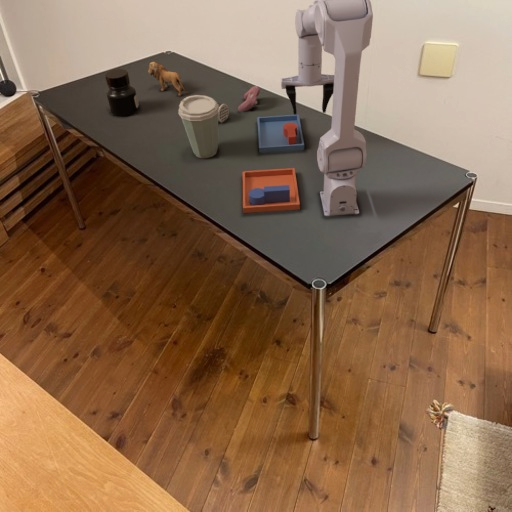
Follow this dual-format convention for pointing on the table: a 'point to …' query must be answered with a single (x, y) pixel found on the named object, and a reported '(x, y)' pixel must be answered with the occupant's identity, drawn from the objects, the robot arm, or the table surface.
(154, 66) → the lion figurine
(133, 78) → the table surface
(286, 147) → the blue tray
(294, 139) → the red round-ended block
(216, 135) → the disposable coffee cup
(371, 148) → the table surface
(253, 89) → the pink shoe
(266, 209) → the terracotta tray
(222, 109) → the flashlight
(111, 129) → the table surface
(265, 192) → the blue round-ended block
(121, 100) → the ink bottle
